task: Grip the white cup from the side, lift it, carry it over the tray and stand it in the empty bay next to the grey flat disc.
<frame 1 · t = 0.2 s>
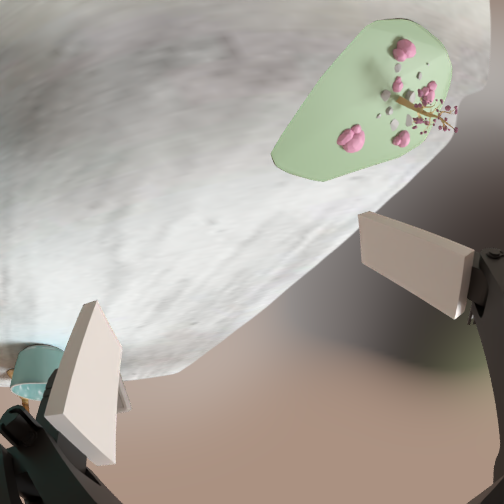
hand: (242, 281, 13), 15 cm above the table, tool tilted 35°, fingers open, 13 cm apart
digital clock: (90, 370, 53), on the table
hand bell: (22, 373, 44), on the table
plant: (372, 108, 26), on the table
bowl: (44, 352, 40), on the table
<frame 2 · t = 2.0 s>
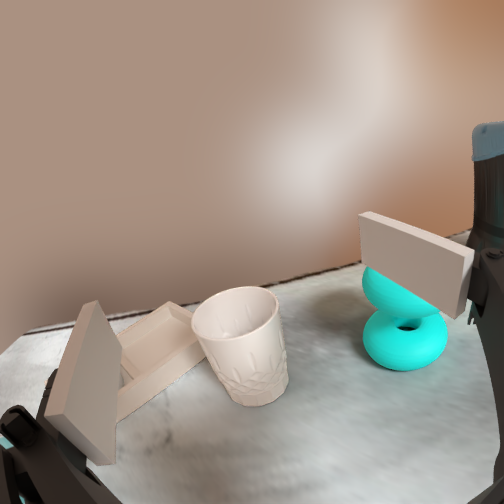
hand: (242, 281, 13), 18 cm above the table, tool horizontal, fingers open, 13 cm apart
white cup: (258, 384, 28), on the table
donuts: (404, 344, 28), on the table
tray: (131, 374, 33), on the table
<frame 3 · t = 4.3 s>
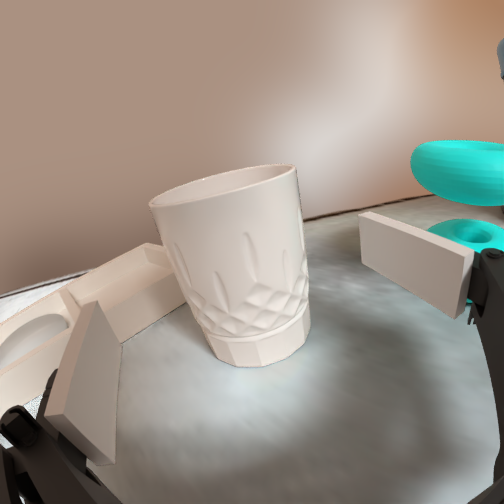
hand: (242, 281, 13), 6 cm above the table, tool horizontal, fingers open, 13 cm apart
white cup: (260, 334, 18), on the table
donuts: (468, 276, 18), on the table
tray: (83, 329, 23), on the table
grey flat disc: (32, 348, 19), point 1 cm above the table, touching tray
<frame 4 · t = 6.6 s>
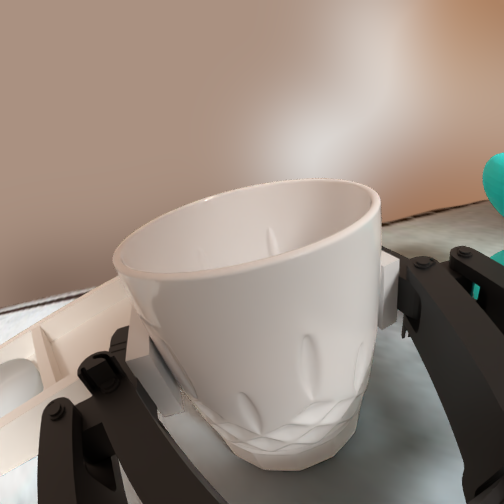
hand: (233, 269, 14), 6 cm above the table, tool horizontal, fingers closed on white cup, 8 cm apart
white cup: (290, 415, 12), on the table, touching gripper
tray: (61, 381, 16), on the table
grey flat disc: (4, 403, 12), point 1 cm above the table, touching tray
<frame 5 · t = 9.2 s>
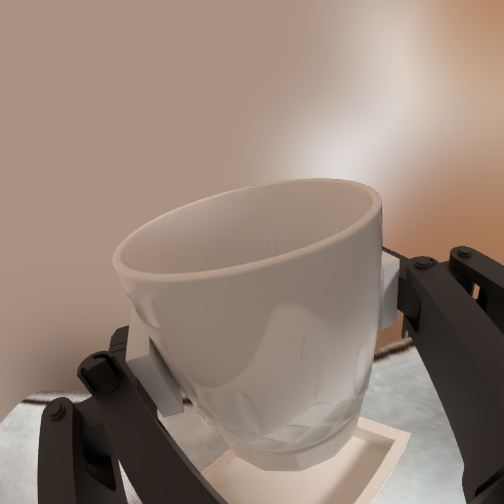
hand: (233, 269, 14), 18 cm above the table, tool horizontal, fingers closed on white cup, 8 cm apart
white cup: (290, 416, 12), point 12 cm above the table, touching gripper
when the fingers open (8 cm above the table, at t = 11.9 s): white cup drops 1 cm, resting on tray.
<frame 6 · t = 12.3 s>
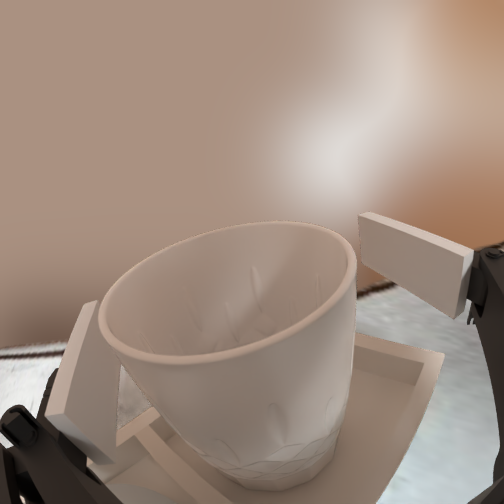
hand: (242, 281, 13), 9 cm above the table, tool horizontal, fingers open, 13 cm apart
white cup: (274, 438, 12), point 1 cm above the table, touching tray
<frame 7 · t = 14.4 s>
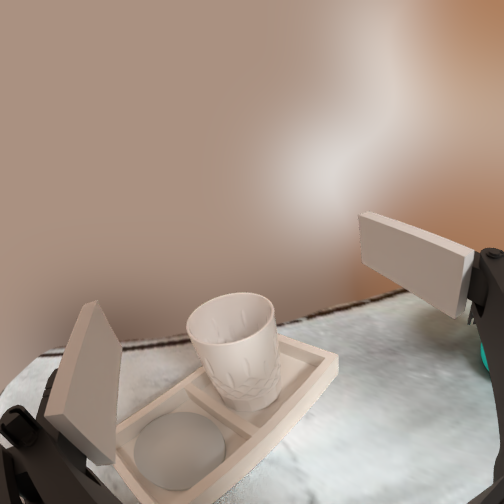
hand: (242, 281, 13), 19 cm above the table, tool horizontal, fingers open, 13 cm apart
white cup: (251, 389, 28), point 1 cm above the table, touching tray
tray: (225, 423, 25), on the table
grey flat disc: (180, 452, 21), point 1 cm above the table, touching tray
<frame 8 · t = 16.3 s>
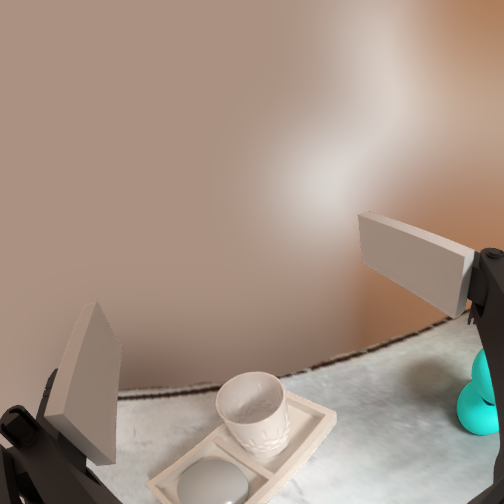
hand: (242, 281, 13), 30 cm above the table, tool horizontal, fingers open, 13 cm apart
white cup: (266, 438, 32), point 1 cm above the table, touching tray
donuts: (483, 410, 24), on the table
tray: (246, 465, 29), on the table
grey flat disc: (213, 490, 25), point 1 cm above the table, touching tray
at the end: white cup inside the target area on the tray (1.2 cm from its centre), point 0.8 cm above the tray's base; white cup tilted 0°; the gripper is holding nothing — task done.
